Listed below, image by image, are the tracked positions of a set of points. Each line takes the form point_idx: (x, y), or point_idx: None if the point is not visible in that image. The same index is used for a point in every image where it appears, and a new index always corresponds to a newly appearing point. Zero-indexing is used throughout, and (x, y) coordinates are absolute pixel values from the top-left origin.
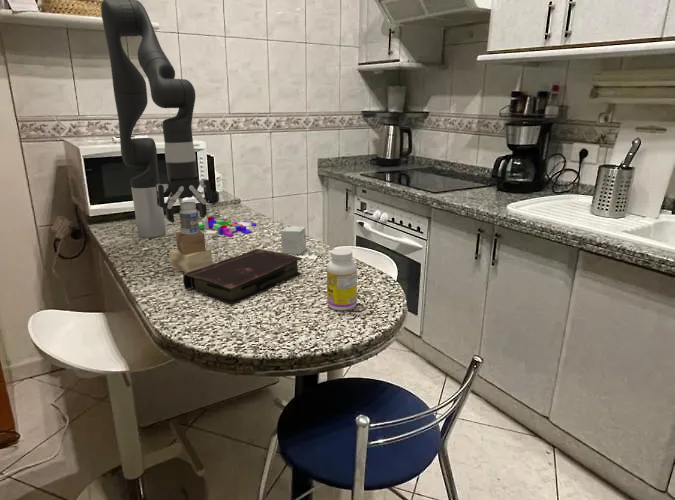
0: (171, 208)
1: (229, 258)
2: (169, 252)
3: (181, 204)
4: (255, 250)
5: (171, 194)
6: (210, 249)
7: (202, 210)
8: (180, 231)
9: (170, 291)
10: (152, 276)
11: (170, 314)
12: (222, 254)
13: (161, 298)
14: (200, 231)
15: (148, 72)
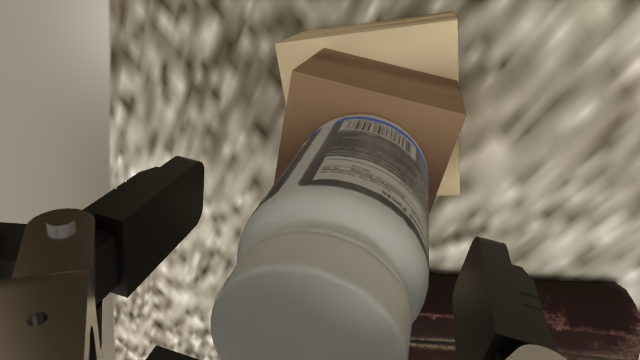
0: (113, 286)
1: (439, 318)
2: (276, 43)
3: (213, 337)
4: (610, 343)
5: (10, 355)
6: (454, 193)
7: (458, 350)
8: (329, 82)
9: (197, 249)
10: (197, 75)
11: (152, 348)
12: (630, 53)
13: (162, 268)
14: (431, 200)
15: None
